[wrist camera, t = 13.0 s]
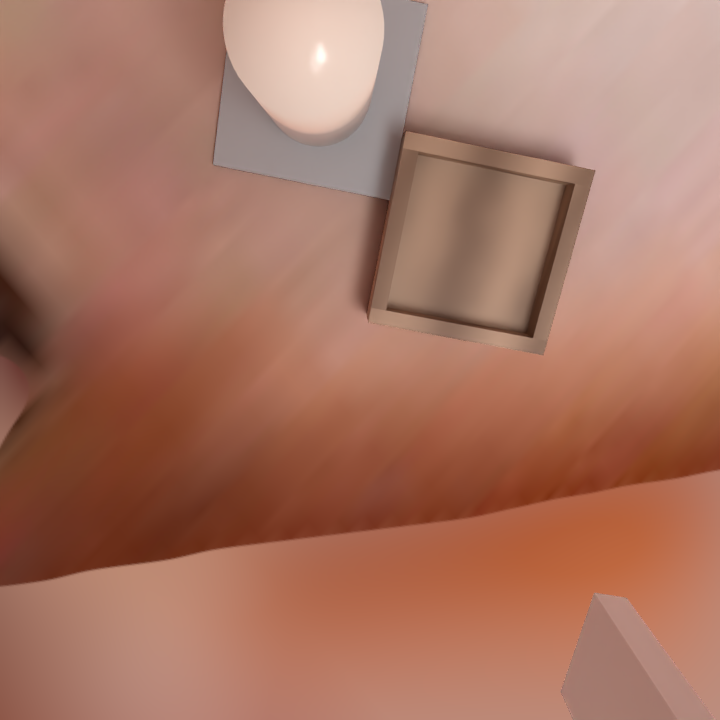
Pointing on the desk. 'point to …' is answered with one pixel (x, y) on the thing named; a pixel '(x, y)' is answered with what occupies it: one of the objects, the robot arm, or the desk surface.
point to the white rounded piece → (307, 62)
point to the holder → (476, 243)
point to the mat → (347, 158)
